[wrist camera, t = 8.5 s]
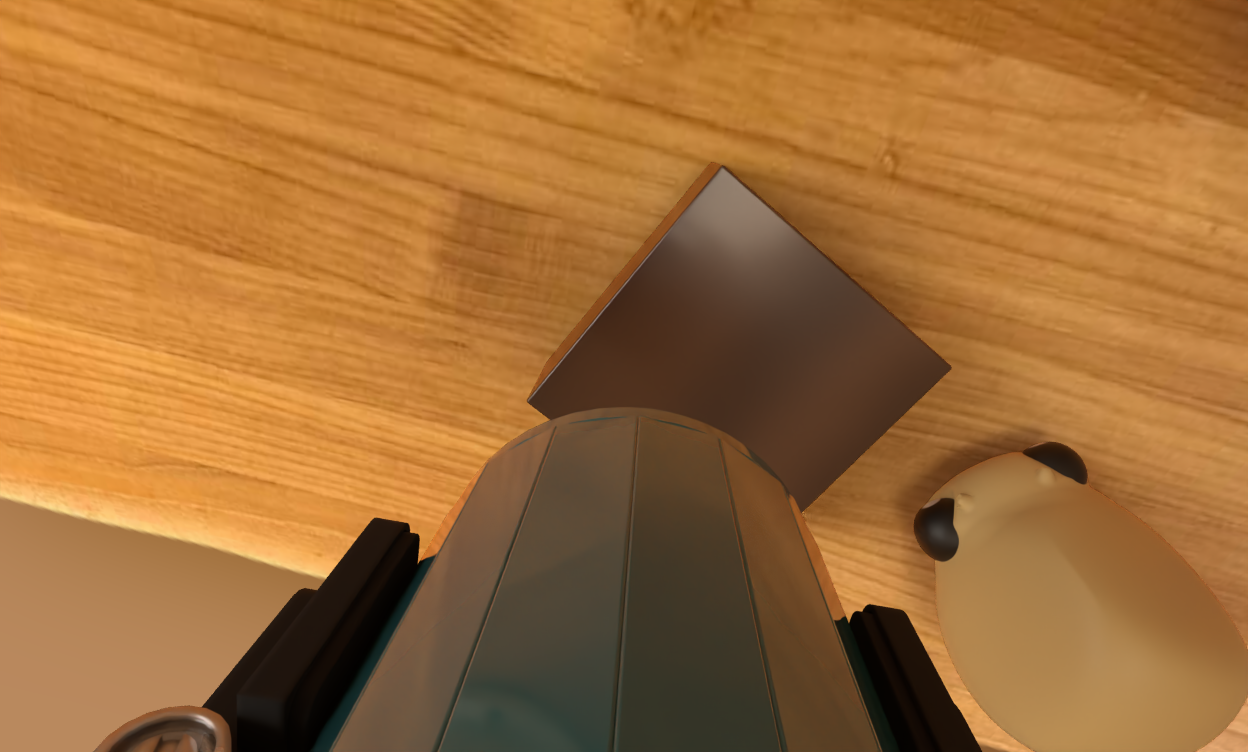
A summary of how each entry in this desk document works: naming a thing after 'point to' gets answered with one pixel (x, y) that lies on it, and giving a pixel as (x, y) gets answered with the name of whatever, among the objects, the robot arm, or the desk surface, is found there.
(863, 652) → the robot arm
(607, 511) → the cup
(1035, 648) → the tan animal figurine
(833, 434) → the block
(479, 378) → the desk surface
